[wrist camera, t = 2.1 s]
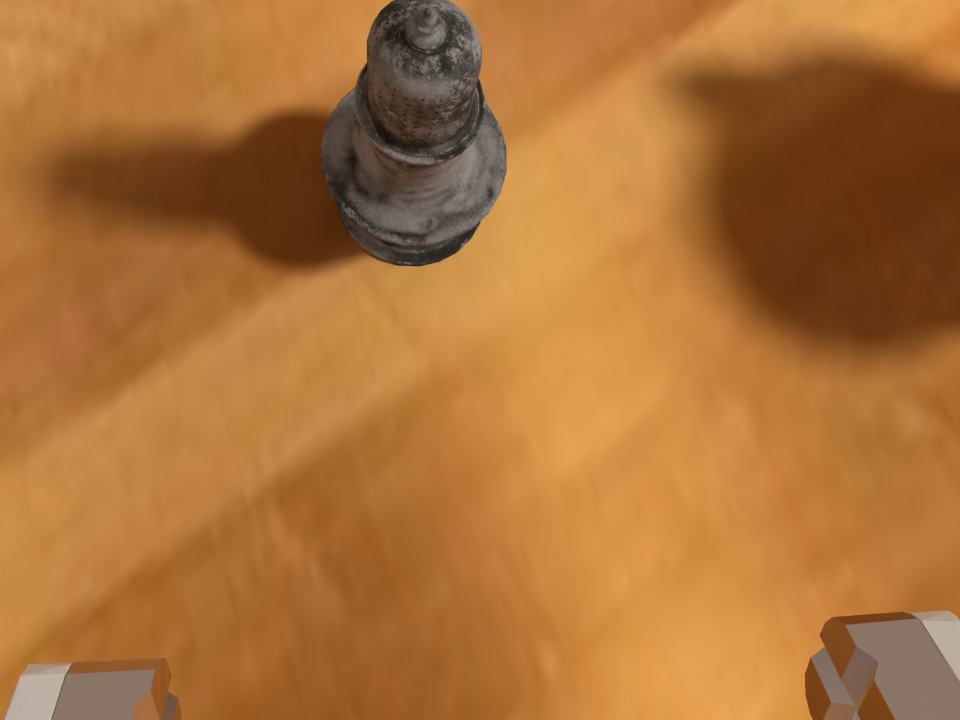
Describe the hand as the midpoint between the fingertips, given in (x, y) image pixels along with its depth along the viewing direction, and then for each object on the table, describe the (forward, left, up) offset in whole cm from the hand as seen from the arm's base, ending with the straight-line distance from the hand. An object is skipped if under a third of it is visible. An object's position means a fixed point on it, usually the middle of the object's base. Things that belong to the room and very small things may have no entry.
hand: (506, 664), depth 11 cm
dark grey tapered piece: (0, +13, -19) cm, 23 cm away
